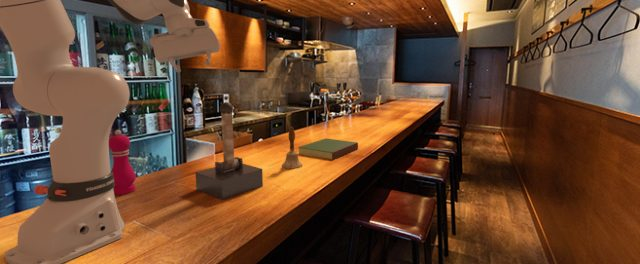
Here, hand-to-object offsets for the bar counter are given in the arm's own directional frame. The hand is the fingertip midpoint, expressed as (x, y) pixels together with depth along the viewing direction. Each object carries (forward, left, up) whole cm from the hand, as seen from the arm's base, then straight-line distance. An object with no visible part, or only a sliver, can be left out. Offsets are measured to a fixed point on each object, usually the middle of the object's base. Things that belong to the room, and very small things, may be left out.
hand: (193, 68), depth 110 cm
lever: (0, -12, -33) cm, 35 cm away
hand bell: (+31, -21, -39) cm, 54 cm away
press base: (0, -12, -39) cm, 41 cm away
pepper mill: (-14, +18, -39) cm, 45 cm away
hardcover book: (+60, -28, -40) cm, 77 cm away
